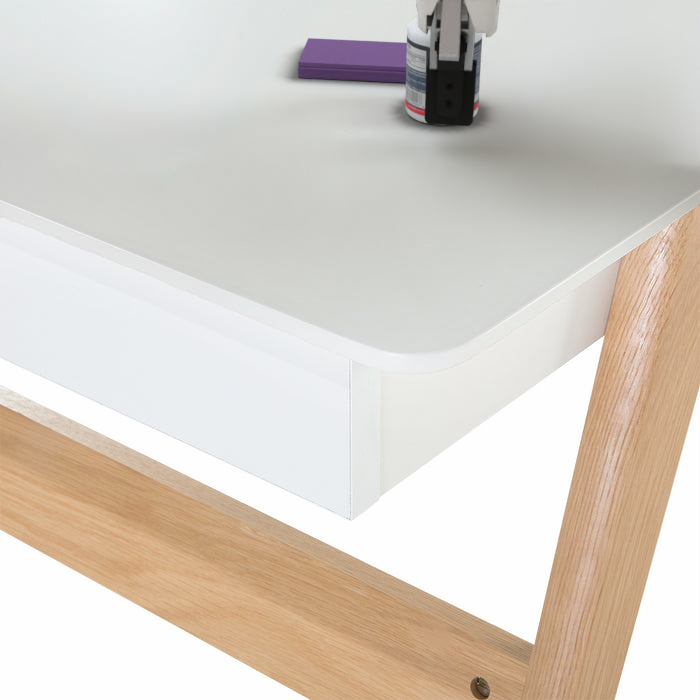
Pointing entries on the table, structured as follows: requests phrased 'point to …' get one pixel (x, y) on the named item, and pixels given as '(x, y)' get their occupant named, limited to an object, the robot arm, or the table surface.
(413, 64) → the pill bottle
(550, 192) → the table surface
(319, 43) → the purple box
